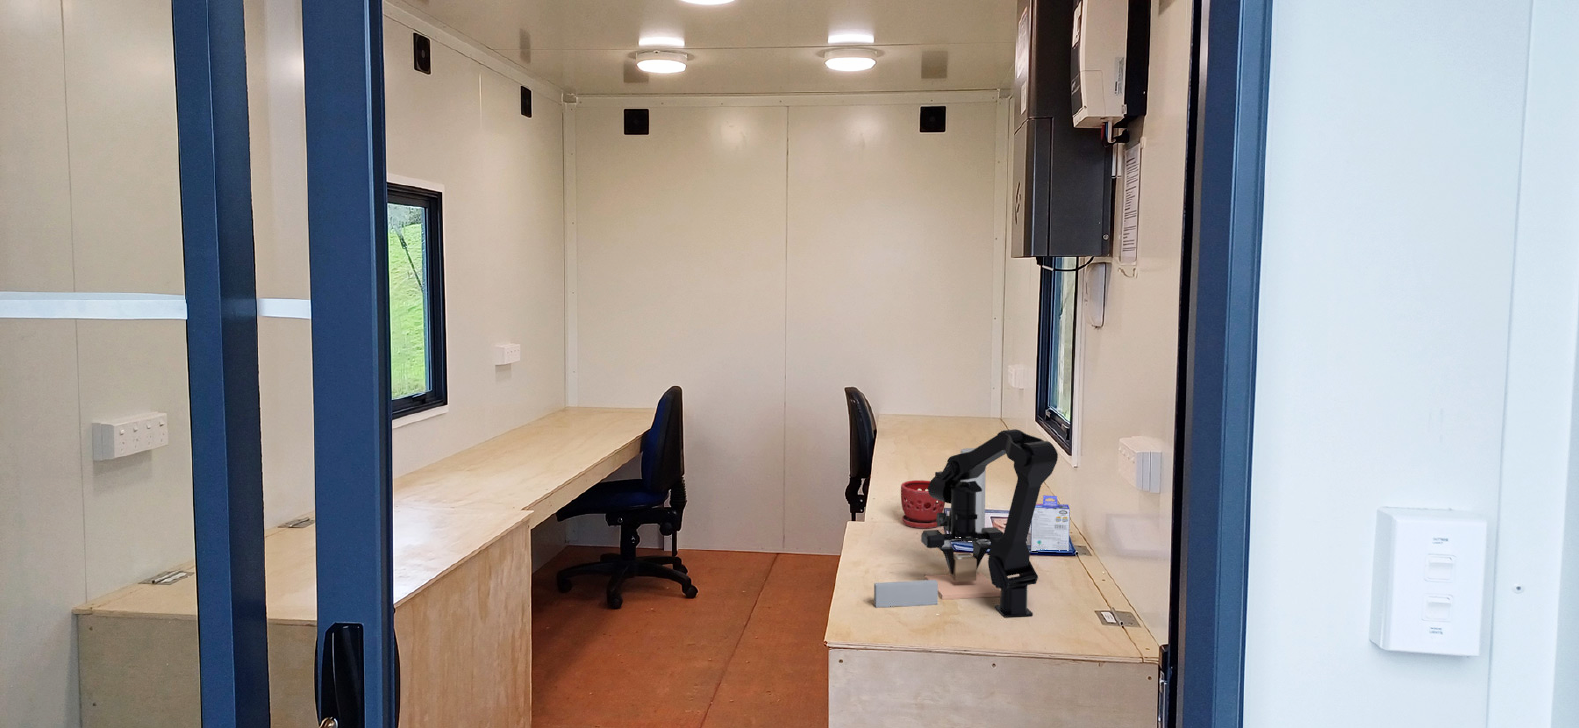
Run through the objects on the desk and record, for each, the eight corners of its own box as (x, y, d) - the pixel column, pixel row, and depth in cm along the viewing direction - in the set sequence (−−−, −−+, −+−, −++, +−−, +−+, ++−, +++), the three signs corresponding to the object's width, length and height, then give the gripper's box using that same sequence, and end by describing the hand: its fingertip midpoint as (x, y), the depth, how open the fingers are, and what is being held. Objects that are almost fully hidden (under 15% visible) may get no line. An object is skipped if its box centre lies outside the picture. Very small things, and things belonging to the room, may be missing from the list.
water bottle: (981, 535, 269) (982, 447, 266) (988, 543, 261) (989, 453, 258) (948, 536, 269) (949, 448, 266) (954, 544, 261) (955, 453, 258)
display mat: (1001, 596, 219) (1001, 591, 219) (942, 599, 218) (942, 595, 217) (981, 576, 233) (981, 572, 233) (925, 579, 231) (925, 575, 231)
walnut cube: (976, 580, 223) (976, 558, 223) (955, 581, 222) (955, 559, 222) (969, 573, 228) (969, 552, 227) (949, 574, 227) (949, 553, 227)
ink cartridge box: (1068, 548, 256) (1069, 495, 255) (1069, 554, 251) (1071, 500, 249) (1029, 546, 258) (1030, 493, 257) (1030, 552, 253) (1031, 498, 251)
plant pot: (896, 529, 276) (897, 488, 275) (905, 517, 289) (905, 478, 287) (942, 532, 272) (942, 491, 271) (948, 520, 285) (949, 481, 284)
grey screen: (937, 604, 214) (937, 582, 214) (876, 607, 212) (876, 585, 212) (934, 601, 216) (935, 579, 216) (874, 604, 214) (874, 582, 214)
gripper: (990, 498, 233) (989, 561, 234) (915, 501, 230) (914, 564, 232) (1006, 509, 222) (1005, 575, 223) (928, 512, 219) (927, 579, 221)
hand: (962, 573), depth 225 cm, fingers closed on walnut cube, 5 cm apart
